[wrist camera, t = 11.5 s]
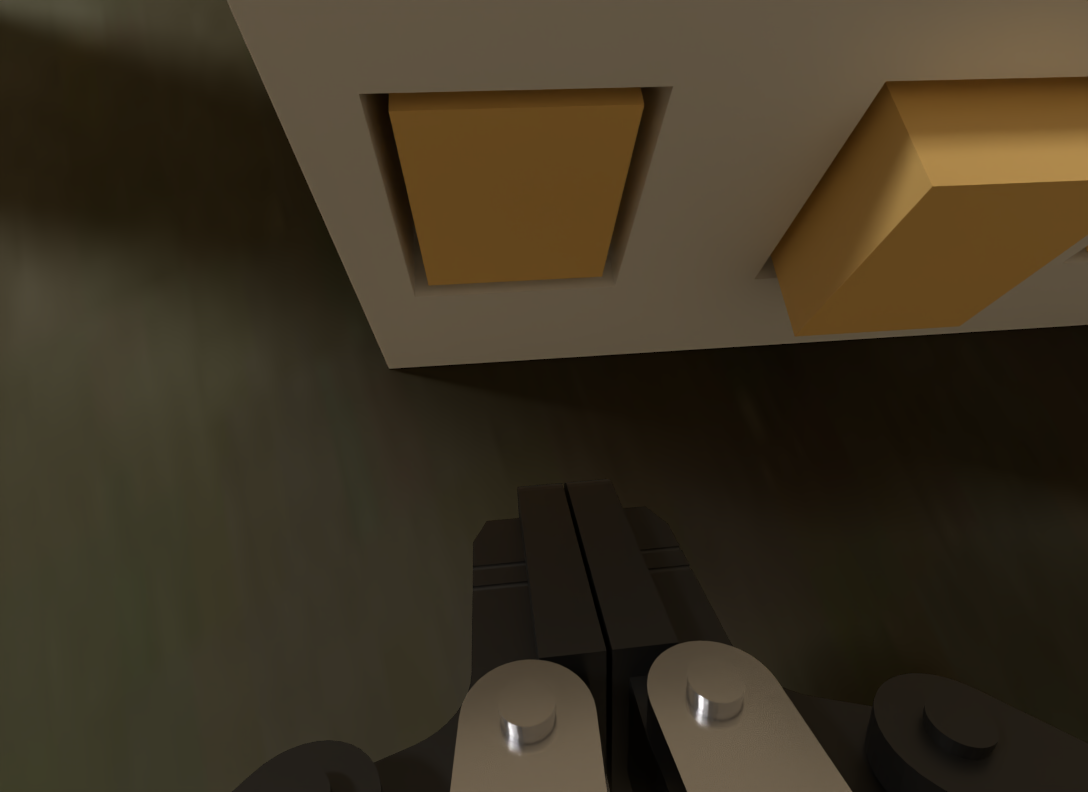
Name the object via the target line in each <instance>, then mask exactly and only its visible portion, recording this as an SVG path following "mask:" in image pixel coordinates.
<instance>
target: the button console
mask: <svg viewBox="0 0 1088 792" xmlns="http://www.w3.org/2000/svg"><path fill="white" fill-rule="evenodd" d="M227 2H228V4H229V7H230V9H231V11H232V13H233V16H234V18H235V20H236V23H237V25H238V27H239V29H240V32H241V34H242V36H243V38H244V41H245V43H246V45H247V48H248V50H249V52H250V54H251V57H252V59H253V61H254V63H255V66H256V68H257V70H258V72H259V75H260V77H261V79H262V82H263V84H264V86H265V88H266V91H267V93H268V95H269V97H270V100H271V102H272V104H273V107H274V109H275V111H276V113H277V116H278V118H279V120H280V122H281V125H282V127H283V129H284V131H285V134H286V136H287V138H288V141H289V143H290V145H291V147H292V150H293V152H294V154H295V156H296V159H297V161H298V163H299V166H300V168H301V170H302V172H303V175H304V177H305V179H306V181H307V184H308V186H309V188H310V190H311V193H312V195H313V197H314V200H315V202H316V204H317V206H318V209H319V211H320V213H321V215H322V218H323V220H324V222H325V225H326V227H327V229H328V231H329V234H330V236H331V238H332V240H333V243H334V245H335V247H336V249H337V252H338V254H339V256H340V259H341V261H342V263H343V265H344V268H345V270H346V272H347V274H348V277H349V279H350V281H351V284H352V286H353V288H354V290H355V293H356V295H357V297H358V299H359V302H360V304H361V306H362V308H363V311H364V313H365V315H366V318H367V320H368V322H369V324H370V327H371V329H372V331H373V333H374V336H375V338H376V340H377V343H378V345H379V347H380V349H381V352H382V354H383V356H384V358H385V361H386V363H387V365H388V367H389V369H393V368H409V367H425V366H441V365H457V364H472V363H488V362H504V361H520V360H536V359H552V358H568V357H584V356H599V355H615V354H631V353H647V352H663V351H679V350H695V349H711V348H726V347H742V346H758V345H774V344H790V343H806V342H822V341H838V340H853V339H869V338H885V337H901V336H917V335H933V334H949V333H965V332H981V331H996V330H1012V329H1028V328H1044V327H1060V326H1076V325H1088V252H1087V250H1086V248H1085V247H1086V246H1088V235H1087V236H1086V237H1084V238H1083V239H1081V240H1080V241H1079V242H1077V243H1076V244H1074V245H1073V246H1071V247H1070V248H1069V249H1067V250H1066V251H1064V252H1063V253H1062V254H1060V255H1059V256H1057V257H1056V258H1055V259H1053V260H1052V261H1050V262H1049V263H1048V264H1046V265H1045V266H1043V267H1042V268H1041V269H1039V270H1038V271H1036V272H1035V273H1034V274H1032V275H1031V276H1029V277H1028V278H1027V279H1025V280H1024V281H1022V282H1021V283H1020V284H1018V285H1017V286H1015V287H1014V288H1013V289H1011V290H1010V291H1008V292H1007V293H1006V294H1004V295H1003V296H1001V297H1000V298H998V299H997V300H996V301H994V302H993V303H991V304H990V305H989V306H987V307H986V308H984V309H983V310H982V311H980V312H979V313H977V314H976V315H975V316H973V317H972V318H970V319H969V320H968V321H966V322H965V323H963V324H962V325H961V326H957V327H941V328H925V329H909V330H892V331H876V332H860V333H844V334H828V335H812V336H796V337H795V336H794V332H793V329H792V326H791V322H790V319H789V316H788V312H787V309H786V306H785V302H784V299H783V295H782V292H781V289H780V285H779V282H778V279H777V275H776V272H775V268H774V265H773V262H772V258H771V253H772V252H773V250H774V249H775V247H776V246H777V244H778V243H779V241H780V240H781V238H782V237H783V235H784V234H785V232H786V231H787V229H788V228H789V226H790V225H791V223H792V222H793V220H794V219H795V217H796V216H797V214H798V213H799V211H800V210H801V208H802V207H803V205H804V204H805V202H806V201H807V199H808V198H809V196H810V195H811V193H812V192H813V190H814V189H815V187H816V186H817V184H818V183H819V181H820V180H821V178H822V177H823V175H824V174H825V172H826V171H827V169H828V168H829V166H830V165H831V163H832V162H833V160H834V159H835V157H836V156H837V154H838V153H839V151H840V150H841V148H842V147H843V145H844V143H845V142H846V140H847V139H848V137H849V136H850V134H851V133H852V131H853V130H854V128H855V127H856V125H857V124H858V122H859V121H860V119H861V118H862V116H863V115H864V113H865V112H866V110H867V109H868V107H869V106H870V104H871V103H872V101H873V100H874V98H875V97H876V95H877V94H878V92H879V91H880V89H881V88H882V86H883V85H884V83H885V82H886V81H921V80H964V79H1006V78H1048V77H1088V0H227ZM626 87H641V92H642V96H643V101H644V108H643V112H642V116H641V120H640V124H639V128H638V133H637V137H636V141H635V145H634V149H633V153H632V157H631V161H630V165H629V169H628V173H627V177H626V181H625V185H624V189H623V193H622V197H621V202H620V206H619V210H618V214H617V218H616V222H615V226H614V230H613V234H612V238H611V242H610V246H609V250H608V254H607V258H606V262H605V266H604V271H603V275H602V277H586V278H567V279H547V280H528V281H508V282H489V283H469V284H450V285H431V286H429V285H428V281H427V277H426V272H425V268H424V264H423V259H422V255H421V250H420V246H419V242H418V237H417V233H416V229H415V224H414V220H413V216H412V211H411V207H410V202H409V198H408V194H407V189H406V185H405V181H404V176H403V172H402V168H401V163H400V159H399V154H398V150H397V146H396V141H395V137H394V133H393V128H392V124H391V120H390V115H389V93H415V92H457V91H499V90H542V89H584V88H626Z"/></svg>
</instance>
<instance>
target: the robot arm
mask: <svg viewBox="0 0 1088 792" xmlns="http://www.w3.org/2000/svg"><path fill="white" fill-rule="evenodd" d="M518 508H519V518H515V519H504V520H493V521H487V522H486V523H485V525H484V526H483V528H482V530H481V531H480V533H479V534H478V536H477V537H476V539H475V540H474V542H473V608H472V675H471V684H470V687H469V691H468V694H467V695H466V697H465V699H464V702H463V704H462V705H461V707H460V708H459V710H458V711H457V713H456V714H455V715H454V716H453V717H452V719H451V720H450V721H449V722H448V723H447V724H446V725H445V726H443V727H442V728H441V729H440V730H439V731H438V732H436V733H435V734H433V735H432V736H430V737H429V738H427V739H425V740H424V741H422V742H420V743H418V744H416V745H414V746H411V747H409V748H407V749H404V750H402V751H400V752H398V753H395V754H393V755H391V756H388V757H386V758H384V759H382V760H379V761H377V762H375V763H373V762H372V760H371V759H370V757H369V756H368V755H367V754H366V753H364V752H363V751H362V750H361V749H359V748H357V747H355V746H353V745H352V744H348V743H345V742H341V741H330V740H327V741H316V742H311V743H307V744H303V745H300V746H297V747H294V748H292V749H289V750H287V751H285V752H283V753H281V754H279V755H277V756H276V757H274V758H272V759H271V760H269V761H268V762H266V763H265V764H263V765H262V766H261V767H260V768H258V769H257V770H256V771H255V772H254V773H252V774H251V775H250V776H249V777H248V778H247V779H246V780H245V781H243V782H242V783H241V784H240V785H239V786H238V787H237V788H236V789H235V790H234V791H232V792H607V788H606V774H607V779H608V783H609V788H610V792H1088V743H1086V742H1084V741H1082V740H1080V739H1078V738H1076V737H1074V736H1072V735H1069V734H1067V733H1065V732H1063V731H1061V730H1059V729H1057V728H1055V727H1053V726H1051V725H1049V724H1047V723H1045V722H1043V721H1041V720H1039V719H1037V718H1035V717H1033V716H1030V715H1028V714H1026V713H1024V712H1022V711H1020V710H1018V709H1016V708H1014V707H1012V706H1010V705H1008V704H1006V703H1004V702H1002V701H1000V700H998V699H996V698H994V697H991V696H989V695H987V694H985V693H983V692H981V691H979V690H977V689H975V688H973V687H970V686H968V685H966V684H964V683H961V682H958V681H955V680H952V679H949V678H946V677H941V676H937V675H932V674H923V673H909V674H903V675H898V676H895V677H893V678H890V679H889V680H887V681H886V682H884V683H883V684H882V685H881V686H880V688H879V689H878V690H877V693H876V695H875V698H874V702H873V706H867V705H861V704H855V703H849V702H843V701H837V700H831V699H825V698H819V697H813V696H809V695H804V694H800V693H797V692H794V691H791V690H788V689H786V688H783V687H781V685H780V684H779V682H778V681H777V680H776V678H775V677H774V676H773V674H772V673H771V672H770V671H769V670H768V669H767V668H766V667H765V666H764V665H763V664H762V663H761V662H759V661H758V660H757V659H755V658H754V657H753V656H751V655H749V654H747V653H746V652H744V651H742V650H740V649H737V648H735V647H733V646H732V644H731V643H730V641H729V639H728V637H727V635H726V633H725V631H724V629H723V627H722V626H721V624H720V622H719V620H718V618H717V616H716V614H715V612H714V610H713V608H712V607H711V605H710V603H709V601H708V599H707V597H706V595H705V593H704V591H703V590H702V588H701V586H700V584H699V582H698V580H697V578H696V576H695V574H694V572H693V571H692V569H690V567H689V563H688V561H687V559H686V557H685V555H684V554H683V552H682V550H680V548H679V544H678V542H677V540H676V538H675V536H674V535H673V533H672V531H671V529H670V527H669V525H668V524H667V523H666V522H665V521H664V520H662V519H661V518H660V517H658V516H657V515H656V514H654V513H653V512H652V511H651V510H649V509H648V508H647V507H634V508H622V506H621V504H620V501H619V499H618V496H617V494H616V492H615V489H614V487H613V484H612V482H611V480H610V479H602V480H590V481H579V482H567V483H565V484H564V488H563V485H562V483H558V484H546V485H534V486H523V487H518Z"/></svg>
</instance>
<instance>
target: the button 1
mask: <svg viewBox="0 0 1088 792" xmlns="http://www.w3.org/2000/svg"><path fill="white" fill-rule="evenodd" d="M643 108H644V101H643V96H642V92H641V87H626V88H584V89H542V90H499V91H457V92H415V93H389V115H390V120H391V124H392V128H393V133H394V137H395V141H396V146H397V150H398V154H399V159H400V163H401V168H402V172H403V176H404V181H405V185H406V189H407V194H408V198H409V202H410V207H411V211H412V216H413V220H414V224H415V229H416V233H417V237H418V242H419V246H420V250H421V255H422V259H423V264H424V268H425V272H426V277H427V281H428V285H429V286H431V285H450V284H469V283H489V282H508V281H528V280H547V279H567V278H586V277H602V275H603V271H604V266H605V262H606V258H607V254H608V250H609V246H610V242H611V238H612V234H613V230H614V226H615V222H616V218H617V214H618V210H619V206H620V202H621V197H622V193H623V189H624V185H625V181H626V177H627V173H628V169H629V165H630V161H631V157H632V153H633V149H634V145H635V141H636V137H637V133H638V128H639V124H640V120H641V116H642V112H643Z"/></svg>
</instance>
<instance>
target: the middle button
mask: <svg viewBox="0 0 1088 792" xmlns="http://www.w3.org/2000/svg"><path fill="white" fill-rule="evenodd" d="M1087 235H1088V77H1048V78H1006V79H964V80H921V81H886V82H885V83H884V85H883V86H882V88H881V89H880V91H879V92H878V94H877V95H876V97H875V98H874V100H873V101H872V103H871V104H870V106H869V107H868V109H867V110H866V112H865V113H864V115H863V116H862V118H861V119H860V121H859V122H858V124H857V125H856V127H855V128H854V130H853V131H852V133H851V134H850V136H849V137H848V139H847V140H846V142H845V143H844V145H843V147H842V148H841V150H840V151H839V153H838V154H837V156H836V157H835V159H834V160H833V162H832V163H831V165H830V166H829V168H828V169H827V171H826V172H825V174H824V175H823V177H822V178H821V180H820V181H819V183H818V184H817V186H816V187H815V189H814V190H813V192H812V193H811V195H810V196H809V198H808V199H807V201H806V202H805V204H804V205H803V207H802V208H801V210H800V211H799V213H798V214H797V216H796V217H795V219H794V220H793V222H792V223H791V225H790V226H789V228H788V229H787V231H786V232H785V234H784V235H783V237H782V238H781V240H780V241H779V243H778V244H777V246H776V247H775V249H774V250H773V252H772V253H771V258H772V262H773V265H774V268H775V272H776V275H777V279H778V282H779V285H780V289H781V292H782V295H783V299H784V302H785V306H786V309H787V312H788V316H789V319H790V322H791V326H792V329H793V332H794V336H795V337H796V336H812V335H828V334H844V333H860V332H876V331H892V330H909V329H925V328H941V327H957V326H961V325H962V324H963V323H965V322H966V321H968V320H969V319H970V318H972V317H973V316H975V315H976V314H977V313H979V312H980V311H982V310H983V309H984V308H986V307H987V306H989V305H990V304H991V303H993V302H994V301H996V300H997V299H998V298H1000V297H1001V296H1003V295H1004V294H1006V293H1007V292H1008V291H1010V290H1011V289H1013V288H1014V287H1015V286H1017V285H1018V284H1020V283H1021V282H1022V281H1024V280H1025V279H1027V278H1028V277H1029V276H1031V275H1032V274H1034V273H1035V272H1036V271H1038V270H1039V269H1041V268H1042V267H1043V266H1045V265H1046V264H1048V263H1049V262H1050V261H1052V260H1053V259H1055V258H1056V257H1057V256H1059V255H1060V254H1062V253H1063V252H1064V251H1066V250H1067V249H1069V248H1070V247H1071V246H1073V245H1074V244H1076V243H1077V242H1079V241H1080V240H1081V239H1083V238H1084V237H1086V236H1087Z"/></svg>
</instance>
